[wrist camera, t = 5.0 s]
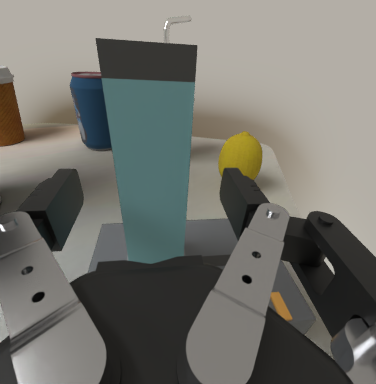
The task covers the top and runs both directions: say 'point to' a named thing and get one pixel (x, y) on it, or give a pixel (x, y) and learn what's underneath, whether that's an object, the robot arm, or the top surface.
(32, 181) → the top surface
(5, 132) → the disposable coffee cup
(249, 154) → the lemon
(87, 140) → the soda can
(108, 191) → the top surface
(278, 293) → the slider track
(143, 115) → the slider tab
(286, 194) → the top surface
